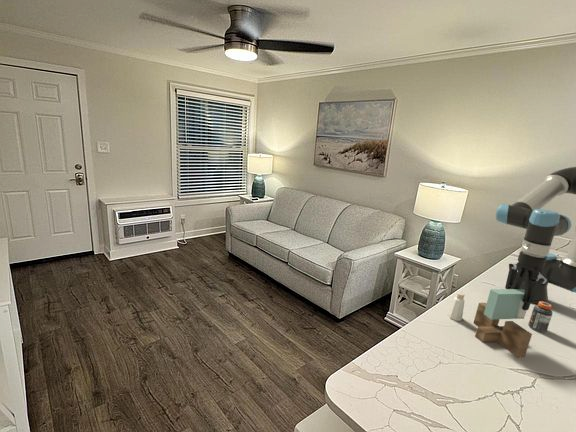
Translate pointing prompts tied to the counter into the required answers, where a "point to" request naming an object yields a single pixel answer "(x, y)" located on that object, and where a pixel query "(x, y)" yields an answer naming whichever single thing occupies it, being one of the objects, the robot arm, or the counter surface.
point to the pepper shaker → (457, 307)
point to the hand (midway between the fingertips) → (514, 313)
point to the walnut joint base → (501, 333)
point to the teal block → (504, 303)
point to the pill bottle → (540, 317)
